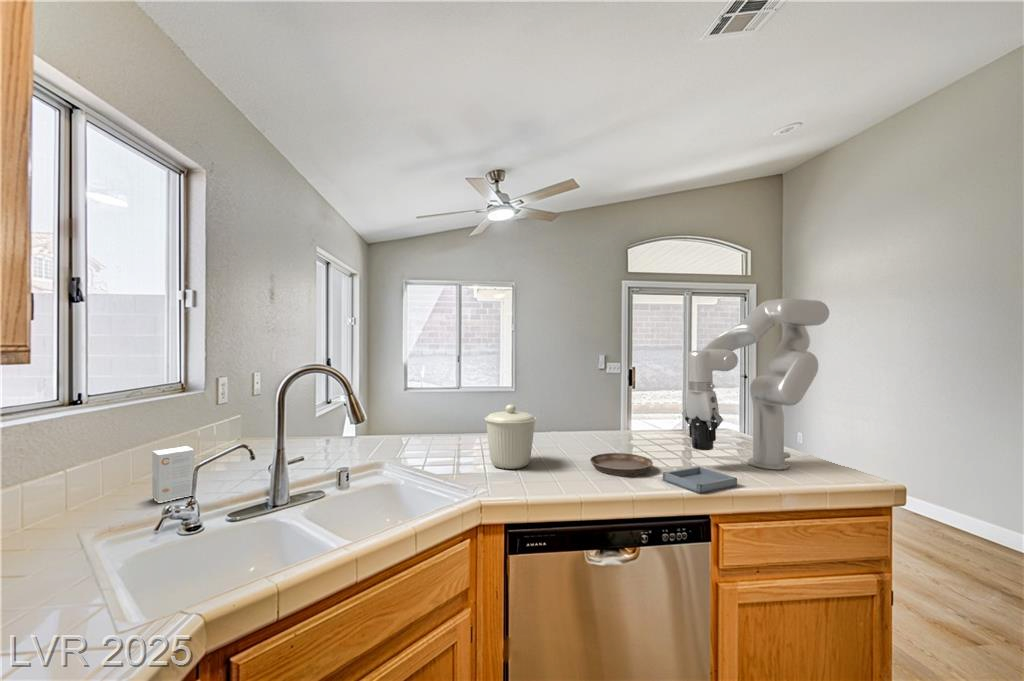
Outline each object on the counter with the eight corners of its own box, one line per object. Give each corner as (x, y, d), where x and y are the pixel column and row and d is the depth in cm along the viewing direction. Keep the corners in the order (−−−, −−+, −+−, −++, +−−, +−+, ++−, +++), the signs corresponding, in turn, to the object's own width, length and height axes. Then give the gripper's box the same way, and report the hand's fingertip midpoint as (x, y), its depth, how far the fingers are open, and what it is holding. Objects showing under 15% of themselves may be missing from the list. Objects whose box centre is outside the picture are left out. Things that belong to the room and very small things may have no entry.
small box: (187, 491, 128) (187, 445, 128) (194, 496, 124) (194, 449, 124) (151, 499, 122) (151, 450, 122) (157, 504, 118) (158, 454, 118)
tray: (698, 474, 149) (698, 466, 149) (737, 486, 137) (737, 478, 137) (662, 480, 142) (662, 472, 142) (699, 494, 129) (699, 485, 129)
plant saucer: (589, 476, 146) (589, 466, 146) (590, 460, 167) (590, 451, 167) (656, 480, 143) (656, 470, 143) (648, 463, 163) (648, 454, 163)
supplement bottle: (715, 451, 151) (714, 414, 151) (694, 450, 152) (692, 414, 152) (711, 446, 158) (710, 411, 158) (690, 445, 159) (689, 411, 159)
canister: (545, 463, 161) (546, 403, 161) (518, 476, 146) (519, 410, 146) (503, 456, 171) (503, 400, 171) (473, 467, 155) (474, 405, 155)
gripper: (730, 388, 149) (732, 442, 149) (688, 384, 164) (689, 433, 165) (714, 389, 146) (716, 445, 146) (673, 385, 161) (674, 435, 161)
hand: (702, 438), depth 155 cm, fingers closed on supplement bottle, 6 cm apart
